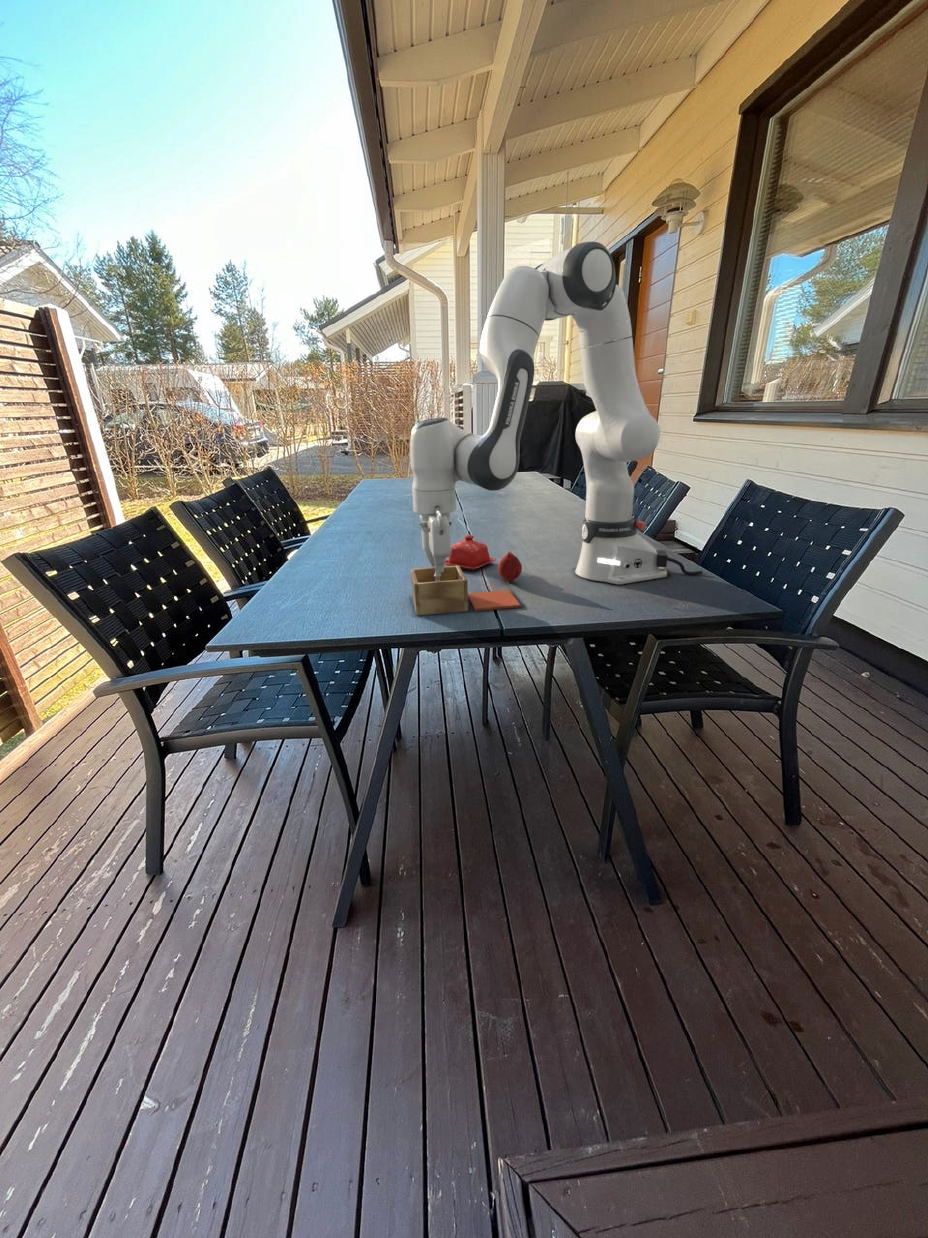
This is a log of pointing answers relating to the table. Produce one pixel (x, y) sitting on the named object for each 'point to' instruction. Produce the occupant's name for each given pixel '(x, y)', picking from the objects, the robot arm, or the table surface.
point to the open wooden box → (439, 591)
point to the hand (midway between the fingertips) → (437, 567)
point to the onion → (509, 567)
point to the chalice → (426, 547)
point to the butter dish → (469, 554)
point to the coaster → (493, 600)
